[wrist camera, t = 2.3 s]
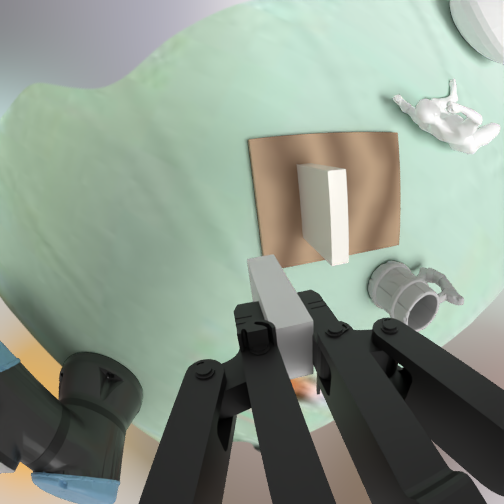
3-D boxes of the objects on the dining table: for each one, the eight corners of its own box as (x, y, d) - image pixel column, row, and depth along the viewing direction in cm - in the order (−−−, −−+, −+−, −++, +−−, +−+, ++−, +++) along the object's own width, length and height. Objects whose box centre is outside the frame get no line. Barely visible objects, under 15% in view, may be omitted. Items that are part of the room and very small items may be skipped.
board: (263, 267, 37) (265, 271, 36) (247, 139, 31) (249, 139, 30) (394, 242, 39) (398, 244, 38) (392, 132, 33) (397, 132, 32)
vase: (466, 74, 31) (551, 70, 13) (418, -15, 24) (491, -47, 6) (502, 62, 30) (568, 61, 12) (465, -12, 23) (526, -29, 5)
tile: (303, 237, 35) (332, 266, 27) (296, 164, 32) (327, 170, 23) (317, 235, 35) (350, 262, 27) (312, 163, 32) (347, 169, 24)
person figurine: (506, 84, 22) (466, 105, 19) (510, 160, 29) (470, 208, 26) (440, 74, 32) (378, 94, 30) (450, 140, 39) (395, 178, 37)
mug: (363, 269, 40) (410, 310, 28) (422, 243, 40) (474, 272, 29) (367, 310, 42) (408, 355, 31) (423, 282, 43) (468, 316, 32)
